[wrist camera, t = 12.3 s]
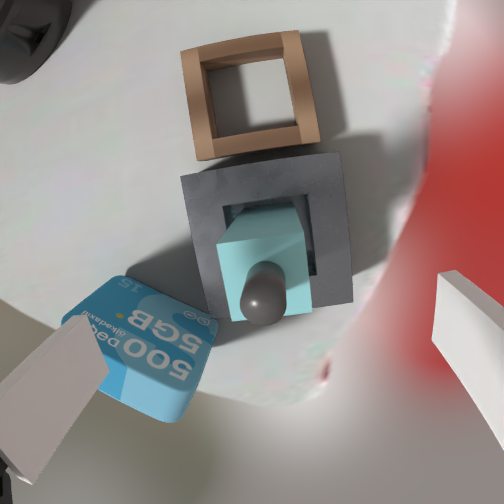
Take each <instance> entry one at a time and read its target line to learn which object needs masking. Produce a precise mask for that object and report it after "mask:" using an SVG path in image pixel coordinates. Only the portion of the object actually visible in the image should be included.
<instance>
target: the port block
mask: <svg viewBox="0 0 504 504" xmlns="http://www.w3.org/2000/svg"><path fill="white" fill-rule="evenodd" d="M180 177H181V183H182V188H183V194H184V199H185V204H186V210H187V215H188V220H189V225H190V230H191V235H192V239H193V244H194V249H195V254H196V258H197V263H198V268H199V272H200V277H201V281H202V285H203V290H204V294H205V298H206V303H207V307H208V311H209V315H210V319H220V318H230V317H231V315H230V310H229V305H228V300H227V296H226V291H225V286H224V281H223V276H222V271H221V266H220V261H219V256H218V251H217V246H216V244H217V242H218V241H219V240H220V238H221V237H222V236H223V234H224V233H225V232H226V230H227V229H228V228H229V226H230V225H231V224H232V222H233V221H234V220H235V219H236V217H237V216H238V215H239V213H240V212H241V211H242V209H247V208H254V207H261V206H268V205H275V204H282V203H289V202H293V204H294V206H295V209H296V212H297V215H298V217H299V220H300V223H301V226H302V228H303V231H304V238H305V246H306V254H307V263H308V272H309V282H310V291H311V301H312V308H317V307H324V306H331V305H338V304H345V303H351V302H353V283H352V265H351V251H350V238H349V226H348V216H347V206H346V197H345V189H344V180H343V173H342V165H341V158H340V152H332V153H322V154H314V155H305V156H297V157H290V158H282V159H275V160H269V161H262V162H256V163H249V164H243V165H237V166H231V167H226V168H220V169H215V170H209V171H204V172H199V173H194V174H189V175H184V176H180Z"/></svg>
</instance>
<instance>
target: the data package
mask: <svg viewBox="0 0 504 504" xmlns="http://www.w3.org/2000/svg"><path fill="white" fill-rule="evenodd" d="M73 315H87V317H88V320H89V322H90V325H91V327H92V330H93V333H94V335H95V338H96V340H97V342H98V345H99V347H100V350H101V352H102V354H103V357H104V359H105V361H106V363H107V366H108V368H109V370H110V372H109V373H108V375H107V376H106V377H105V379H104V380H103V382H102V383H101V384H100V386H99V387H98V390H100V391H102V392H104V393H105V394H107V395H109V396H111V397H113V398H115V399H117V400H119V401H120V402H122V403H124V404H126V405H128V406H130V407H132V408H134V409H136V410H138V411H140V412H143V413H145V414H147V415H149V416H151V417H154V418H155V419H158V420H160V421H163V422H176V421H178V420H180V419H181V418H182V417H183V415H184V413H185V411H186V409H187V407H188V405H189V403H190V401H191V399H192V397H193V395H194V393H195V391H196V388H197V386H198V384H199V381H200V378H201V376H202V373H203V370H204V367H205V364H206V362H207V359H208V356H209V353H210V350H211V348H212V345H213V342H214V339H215V336H216V334H217V331H218V323H217V321H216V320H215V319H210V315H208V314H206V313H204V312H202V311H200V310H198V309H195V308H193V307H191V306H189V305H187V304H184V303H182V302H180V301H178V300H176V299H174V298H171V297H169V296H167V295H165V294H163V293H161V292H159V291H157V290H155V289H153V288H150V287H148V286H146V285H144V284H142V283H140V282H138V281H136V280H134V279H132V278H130V277H127V276H115V277H113V278H111V279H110V280H109V281H108V282H106V283H105V284H104V285H102V286H101V287H100V288H98V289H97V290H96V291H95V292H93V293H92V294H91V295H90V296H88V297H87V298H86V299H84V300H83V301H82V302H81V303H79V304H78V305H77V306H76V307H74V308H73V309H72V310H71V311H70V312H68V313H67V314H66V315H65V316H64V317H63V318H62V321H61V326H62V325H63V324H64V323H65V322H66V321H67V320H69V319H70V318H71V317H72V316H73Z"/></svg>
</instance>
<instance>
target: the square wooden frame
mask: <svg viewBox="0 0 504 504" xmlns="http://www.w3.org/2000/svg"><path fill="white" fill-rule="evenodd" d="M180 53H181V60H182V68H183V75H184V82H185V88H186V95H187V102H188V108H189V115H190V121H191V127H192V133H193V139H194V145H195V151H196V157H197V161H208V160H213V159H218V158H224V157H229V156H235V155H241V154H247V153H253V152H259V151H265V150H272V149H279V148H286V147H294V146H302V145H310V144H317V143H319V142H321V141H320V134H319V128H318V123H317V117H316V111H315V106H314V100H313V95H312V90H311V85H310V80H309V75H308V70H307V66H306V61H305V57H304V52H303V48H302V43H301V39H300V35H299V31H298V30H294V31H284V32H276V33H268V34H261V35H255V36H248V37H243V38H237V39H232V40H227V41H222V42H217V43H212V44H208V45H204V46H200V47H196V48H192V49H188V50H184V51H180ZM280 58H283V59H284V64H285V69H286V74H287V79H288V84H289V89H290V94H291V100H292V105H293V111H294V116H295V122H296V126H291V127H283V128H276V129H269V130H262V131H256V132H250V133H244V134H238V135H233V136H227V137H222V138H218V134H217V128H216V122H215V116H214V110H213V103H212V97H211V91H210V85H209V79H208V72H207V71H211V70H215V69H220V68H225V67H230V66H235V65H241V64H246V63H252V62H258V61H265V60H272V59H280Z"/></svg>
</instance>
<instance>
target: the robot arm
mask: <svg viewBox="0 0 504 504" xmlns="http://www.w3.org/2000/svg"><path fill="white" fill-rule="evenodd" d="M71 4H72V0H0V83H2V84H15V83H18V82H20V81H22V80H24V79H26V78H27V77H28V76H30V75H31V74H32V73H33V72H35V71H36V70H37V69H38V68H39V67H40V66H41V64H42V63H43V62H44V61H45V60H46V59H47V57H48V56H49V55H50V53H51V52H52V50H53V49H54V47H55V46H56V44H57V43H58V41H59V39H60V37H61V35H62V33H63V31H64V29H65V27H66V24H67V22H68V19H69V16H70V11H71ZM432 341H433V342H434V344H435V345H436V347H437V348H438V349H439V351H440V352H441V353H442V355H443V356H444V358H445V359H446V360H447V362H448V363H449V365H450V366H451V368H452V369H453V371H454V372H455V373H456V375H457V376H458V378H459V379H460V381H461V382H462V384H463V385H464V387H465V388H466V390H467V391H468V393H469V394H470V396H471V397H472V399H473V401H474V402H475V404H476V405H477V407H478V408H479V410H480V412H481V413H482V415H483V416H484V418H485V420H486V421H487V423H488V425H489V426H490V428H491V429H492V431H493V433H494V435H495V436H496V438H497V440H498V442H499V443H500V445H501V447H502V449H503V450H504V307H503V306H501V305H500V304H499V303H498V302H496V301H495V300H494V299H492V298H491V297H490V296H489V295H488V294H486V293H485V292H484V291H483V290H481V289H480V288H479V287H477V286H476V285H475V284H473V283H472V282H471V281H469V280H468V279H467V278H465V277H464V276H463V275H461V274H460V273H459V272H457V271H456V270H453V271H448V272H442V273H438V283H437V297H436V308H435V318H434V326H433V334H432ZM109 372H110V370H109V368H108V366H107V363H106V361H105V359H104V357H103V354H102V352H101V350H100V347H99V345H98V342H97V340H96V338H95V335H94V333H93V330H92V327H91V325H90V322H89V320H88V317H87V315H73V316H72V317H71V318H70V319H69V320H67V321H66V322H65V323H64V324H63V325H62V326H61V327H60V328H58V329H57V330H56V331H55V332H54V333H53V334H52V335H51V336H50V337H48V338H47V339H46V340H45V341H44V342H43V343H42V344H41V345H40V346H39V347H38V348H36V349H35V350H34V351H33V352H32V353H31V354H30V355H29V356H28V357H27V358H26V359H25V360H24V361H23V362H21V364H19V365H18V366H17V367H16V368H15V369H14V370H13V371H12V372H11V373H10V374H9V375H8V376H7V377H6V378H5V379H4V380H3V381H2V382H1V383H0V504H13V503H12V492H11V479H10V476H9V474H8V473H7V472H6V471H5V470H6V469H7V467H9V468H10V469H11V470H12V471H13V472H14V474H15V475H16V476H17V477H18V478H19V479H21V480H23V481H25V482H28V483H29V484H32V485H34V483H35V481H36V480H37V478H38V477H39V475H40V473H41V472H42V470H43V469H44V467H45V466H46V464H47V463H48V461H49V459H50V457H51V456H52V455H53V453H54V452H55V450H56V449H57V447H58V446H59V444H60V443H61V441H62V440H63V438H64V437H65V435H66V434H67V432H68V431H69V429H70V428H71V426H72V425H73V423H74V422H75V420H76V419H77V417H78V416H79V414H80V413H81V412H82V410H83V409H84V407H85V406H86V404H87V403H88V401H89V400H90V399H91V397H92V396H93V394H94V393H95V391H96V390H97V389H98V387H99V386H100V384H101V383H102V382H103V380H104V379H105V377H106V376H107V375H108V373H109Z"/></svg>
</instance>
